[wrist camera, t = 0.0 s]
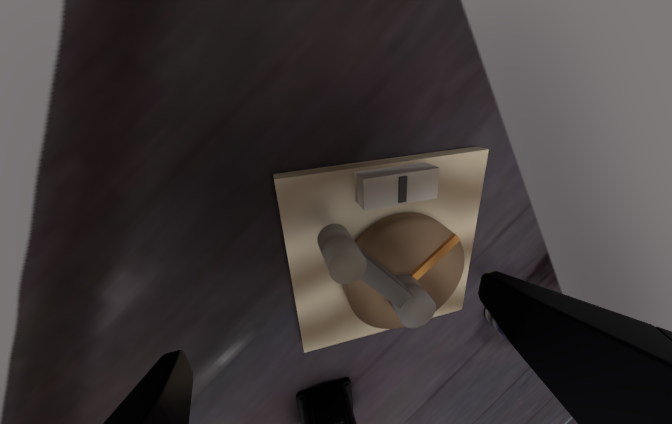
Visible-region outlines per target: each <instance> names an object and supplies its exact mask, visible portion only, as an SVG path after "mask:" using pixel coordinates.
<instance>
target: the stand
mask: <svg viewBox="0 0 672 424" xmlns="http://www.w3.org/2000/svg"><path fill="white" fill-rule="evenodd" d="M488 151H489V149H485V148H481V147H468V148H461V149H454V150H446V151H439V152H432V153H424V154H417V155H410V156H402V157H395V158H388V159H380V160H373V161H365V162H358V163H351V164H343V165H336V166H329V167H321V168H314V169H307V170H299V171H292V172H285V173H277V174H273V177H274V183H275V188H276V194H277V200H278V205H279V211H280V217H281V223H282V228H283V234H284V240H285V245H286V251H287V257H288V263H289V268H290V274H291V280H292V285H293V291H294V297H295V303H296V308H297V314H298V320H299V325H300V331H301V337H302V343H303V348H304V353H306V352H309V351H313V350H317V349H320V348H324V347H327V346H331V345H335V344H338V343H342V342H346V341H349V340H353V339H356V338H360V337H364V336H367V335H371V334H375V333H378V332H382V331H385V330H389V329H381V328H376V327H373V326H370V325H368V324H366V323H364V322H362V321H361V320H360V319H359V318H358V317H357V316H356V315H355V314H354V312H353V311H352V309H351V307H350V304H349V302H348V299H347V297H346V295H345V292H344V290H343V287H342V284H339V283H336V282H335V281H334V280H333V279H332V278H331V277H330V274H329V271H328V269H327V266H326V264H325V261H324V258H323V256H322V253H321V251H320V248H319V245H318V242H317V238H318V234H319V232H320V231H321V230H322V229H323V228H324V227H325V226H327V225H330V224H340V225H343V226H344V227H345V228H346V229H347V230H348V232H349V233H350V235H351V237H352V238H353V240H354V241H355V240H356V239H357V238H358V237H359V236H360V235H361V234H362V233H363V232H364V231H365V230H366V229H368V228H369V227H370V226H372V225H373V224H375V223H376V222H378V221H380V220H382V219H384V218H387V217H389V216H392V215H396V214H401V213H420V214H424V215H427V216H429V217H432V218H433V219H435V220H436V221H438V222H439V223H441V224H442V225H444V226H445V227H446V228H448V229H449V230H451V231H452V232H453V233H455V234H456V235H457V236H458V237H459V238H460V242H461V244H462V247H463V250H464V257H465V262H464V270H463V274H462V277H461V279H460V282H459V284H458V286H457V288H456V289H455V291H454V292H453V294H452V295H451V297H450V298H449V299H448V300H447V301H446V302H445V303H444V304H443V305H442V306H441V307H440V308H439V309H438V310H437V311H436V312H435V313H434V315H433V317H436V316H440V315H443V314H447V313H451V312H454V311H458V310H462V306H463V300H464V294H465V288H466V282H467V276H468V270H469V264H470V258H471V252H472V246H473V240H474V234H475V228H476V222H477V217H478V211H479V205H480V199H481V193H482V187H483V181H484V175H485V169H486V163H487V157H488ZM433 317H432V318H433Z"/></svg>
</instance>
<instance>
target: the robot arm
mask: <svg viewBox="0 0 672 424" xmlns="http://www.w3.org/2000/svg"><path fill="white" fill-rule="evenodd" d="M478 295H479V298H480V300H481V302H482V303H483V305H484V306H485V308H486V309H487V310H488V312H489V313H490V315H491V316H492V318H493V319H494V320H495V322H496V323H497V325H498V326H499V328H500V329H501V330H502V332H503V333H504V335H505V336H506V337H507V339H508V340H509V341H510V343H511V344H512V345H513V347H514V348H515V349H516V350H517V351H518V353H519V354H520V355H521V356H522V357H523V359H524V360H525V361H526V362H527V363H528V365H529V366H530V367H531V368H532V369H533V371H534V372H535V373H536V374H537V375H538V377H539V378H540V379H541V380H542V381H543V382H544V384H545V385H546V386H547V387H548V388H549V390H550V391H551V392H552V393H553V394H554V396H555V397H556V398H557V399H558V400H559V402H560V403H561V404H562V405H563V406H564V407H565V409H566V410H567V411H568V412H569V413H570V415H571V416H572V417H573V418H574V419H575V421H576V422H577V423H578V424H672V332H671V331H668V330H665V329H662V328H660V327H654V326H652V325H651V324H648V323H645V322H642V321H639V320H636V319H633V318H630V317H628V316H625V315H622V314H619V313H616V312H613V311H610V310H607V309H605V308H602V307H599V306H596V305H593V304H590V303H587V302H584V301H581V300H578V299H576V298H573V297H570V296H567V295H564V294H561V293H558V292H555V291H553V290H550V289H547V288H544V287H541V286H538V285H535V284H532V283H529V282H527V281H524V280H521V279H518V278H515V277H512V276H509V275H506V274H503V273H501V272H498V271H491V272H487V273H484V274H483V275H482V277H481V281H480V286H479V291H478ZM192 386H193V371H192V369H191V366H190V364H189V362H188V360H187V358H186V355H185V353H184V352H183V351H182V350H178V351H174V352H170V353H166V354H164V355H163V356H162V357H161V358H160V359H159V360H158V361H157V362H156V364H155V365H154V366H153V367H152V368H151V369H150V370H149V372H148V373H147V374H146V375H145V376H144V377H143V378H142V380H141V381H140V382H139V383H138V384H137V385H136V386H135V388H134V389H133V390H132V391H131V392H130V393H129V394H128V396H127V397H126V398H125V399H124V400H123V401H122V403H121V404H120V405H119V406H118V407H117V408H116V409H115V411H114V412H113V413H112V414H111V415H110V416H109V417H108V419H107V420H106V421H105V422H104V423H103V424H189V415H190V406H191V396H192ZM296 399H297V404H298V408H299V413H300V418H301V422H302V424H356V420H355V417H354V413H353V403H352V390H351V381H350V379H349V378H345V379H342V380H339V381H336V382H332V383H329V384H326V385H322V386H319V387H316V388H313V389H309V390H306V391H303V392H300V393H298V394H297V395H296Z"/></svg>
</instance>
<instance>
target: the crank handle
mask: <svg viewBox="0 0 672 424" xmlns="http://www.w3.org/2000/svg"><path fill="white" fill-rule="evenodd" d="M317 242H318V245H319V248H320V251H321V253H322V256H323V258H324V261H325V264H326V266H327V269H328V271H329V274H330V277H331V278H332V279H333V280H334V281H335V282H336V283H339V284H342V287H343V290H344V292H345V295H346V297H347V299H348V302H349V304H350V307H351V309H352V311H353V312H354V314H355V315H356V316H357V317H358V318H359V319H360V320H361V321H362V322H364V323H366V324H368V325H370V326H373V327H376V328H381V329H396V328H402V327H407V328H417V327H420V326H422V325H424V324H426V323H427V322H428V321H429V320H430V319H431V318H432V317H433V315H434V313H435V312H436V311H437V310H438V309H439V308H440V307H441V306H442V305H443V304H444V303H445V302H446V301H447V300H448V299H449V298H450V297H451V295H452V294H453V292H454V291H455V289H456V288H457V286H458V284H459V282H460V279H461V277H462V274H463V270H464V262H465V257H464V250H463V247H462V244H461V242H460V238H459V237H458V236H457V235H456V234H455V233H453V232H452V231H451V230H449V229H448V228H446V227H445V226H444V225H442V224H441V223H439V222H438V221H436V220H435V219H433V218H432V217H429V216H427V215H424V214H420V213H401V214H396V215H392V216H389V217H387V218H384V219H382V220H380V221H378V222H376V223H375V224H373V225H372V226H370V227H369V228H368V229H366V230H365V231H364V232H363V233H362V234H361V235H360V236H359V237H358V238H357V239H356V240H355V241H354V240H353V238H352V237H351V235H350V233H349V232H348V230H347V229H346V228H345V227H344V226H343V225H340V224H330V225H327V226H325V227H324V228H323V229H322V230H321V231H320V232H319V234H318V238H317Z"/></svg>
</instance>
